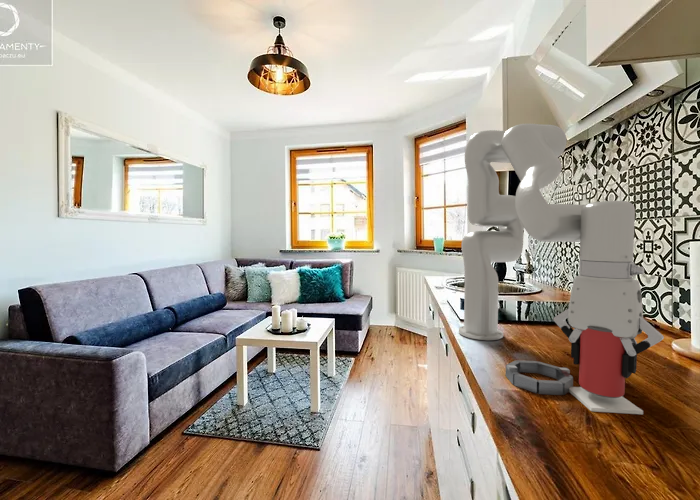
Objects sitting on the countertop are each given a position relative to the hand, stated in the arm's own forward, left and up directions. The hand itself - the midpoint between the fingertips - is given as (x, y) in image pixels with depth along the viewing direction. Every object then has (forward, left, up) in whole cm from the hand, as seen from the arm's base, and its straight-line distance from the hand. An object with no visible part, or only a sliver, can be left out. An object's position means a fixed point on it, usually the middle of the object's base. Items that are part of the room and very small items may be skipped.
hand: (601, 368), depth 59 cm
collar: (-7, -8, -6) cm, 12 cm away
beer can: (0, 0, -4) cm, 4 cm away
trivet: (0, 0, -6) cm, 6 cm away
